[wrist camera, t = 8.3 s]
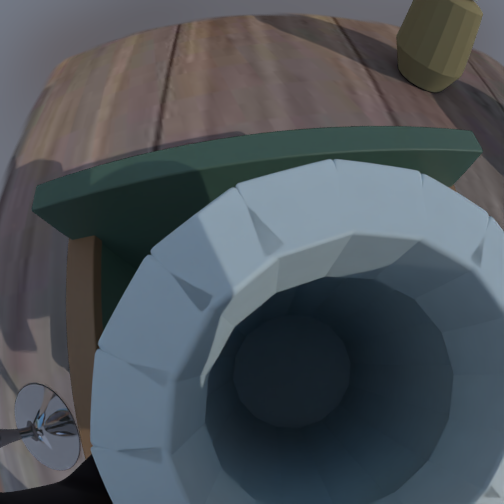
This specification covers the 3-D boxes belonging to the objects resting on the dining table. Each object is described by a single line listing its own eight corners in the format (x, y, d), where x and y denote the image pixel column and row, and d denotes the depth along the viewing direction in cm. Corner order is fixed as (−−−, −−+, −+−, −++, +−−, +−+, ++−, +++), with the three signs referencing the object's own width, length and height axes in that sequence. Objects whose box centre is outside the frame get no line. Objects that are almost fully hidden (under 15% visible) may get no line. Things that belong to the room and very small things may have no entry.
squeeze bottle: (462, 101, 24) (523, -15, 7) (414, 100, 23) (474, -48, 6) (424, 58, 26) (464, -52, 9) (374, 54, 26) (406, -77, 9)
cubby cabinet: (437, 398, 15) (546, 412, 6) (145, 450, 15) (53, 511, 5) (399, 219, 19) (474, 130, 10) (124, 260, 19) (32, 186, 9)
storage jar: (317, 448, 13) (416, 611, 1) (205, 396, 15) (36, 484, 2) (373, 340, 15) (574, 280, 3) (264, 288, 16) (252, 100, 4)
